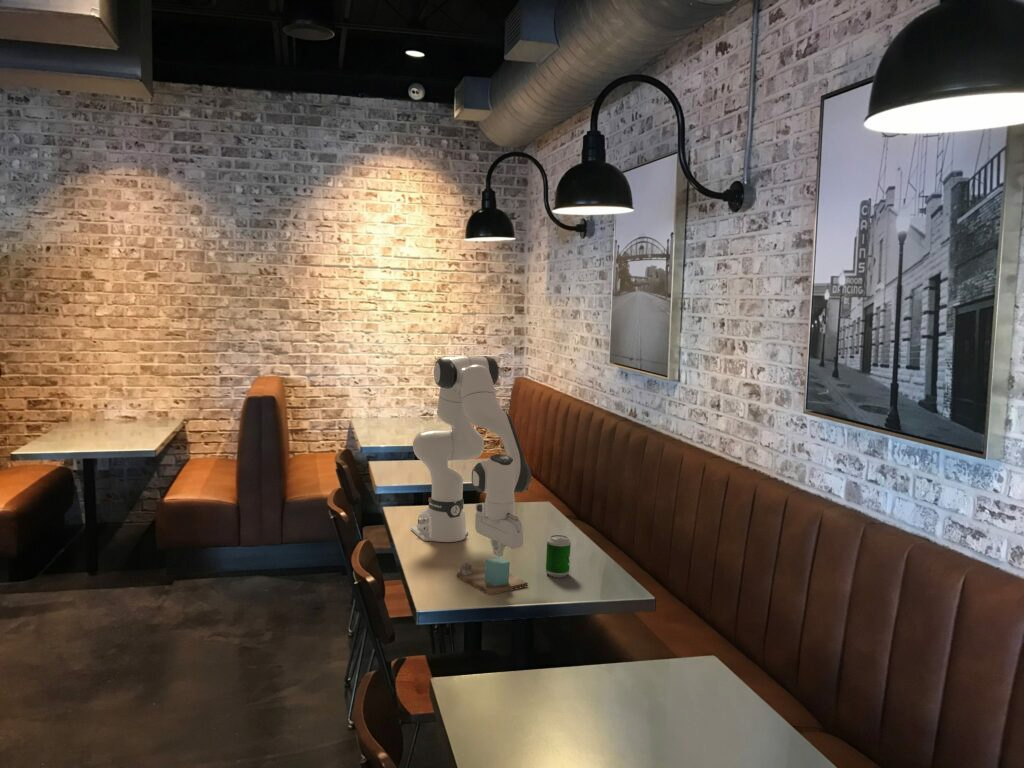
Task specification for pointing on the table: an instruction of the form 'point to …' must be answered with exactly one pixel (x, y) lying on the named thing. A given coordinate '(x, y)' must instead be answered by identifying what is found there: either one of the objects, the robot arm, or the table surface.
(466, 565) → the stand
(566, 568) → the soda can
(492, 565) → the light blue toy cube
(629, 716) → the table surface
